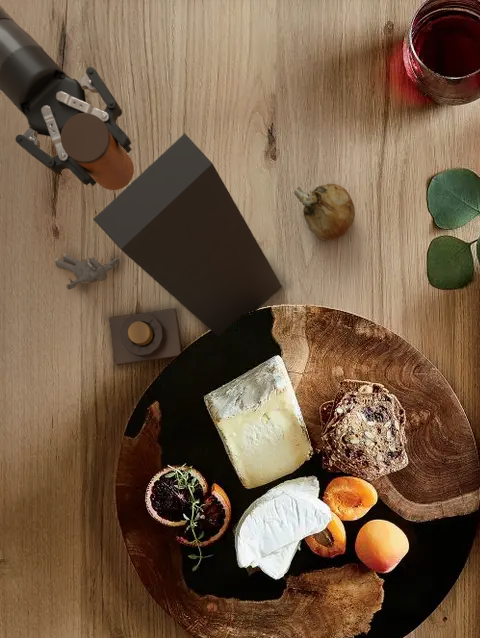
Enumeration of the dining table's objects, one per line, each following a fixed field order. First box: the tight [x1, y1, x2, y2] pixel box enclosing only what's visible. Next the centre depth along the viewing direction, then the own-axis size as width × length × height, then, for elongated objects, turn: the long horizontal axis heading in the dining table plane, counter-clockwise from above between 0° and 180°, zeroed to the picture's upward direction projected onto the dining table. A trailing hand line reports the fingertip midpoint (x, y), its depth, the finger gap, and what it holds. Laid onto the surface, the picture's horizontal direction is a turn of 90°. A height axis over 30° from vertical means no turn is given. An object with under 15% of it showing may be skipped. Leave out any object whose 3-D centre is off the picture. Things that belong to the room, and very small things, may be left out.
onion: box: [293, 183, 356, 242], centre depth 118 cm, size 8×8×8 cm
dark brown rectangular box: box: [92, 133, 283, 338], centre depth 100 cm, size 16×12×44 cm
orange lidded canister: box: [61, 113, 135, 191], centre depth 106 cm, size 6×6×10 cm
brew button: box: [128, 321, 153, 345], centre depth 120 cm, size 3×3×2 cm
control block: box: [108, 308, 183, 366], centre depth 121 cm, size 10×7×2 cm
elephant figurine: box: [54, 253, 120, 291], centre depth 120 cm, size 10×6×9 cm
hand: (110, 165), depth 105 cm, fingers closed on orange lidded canister, 5 cm apart
